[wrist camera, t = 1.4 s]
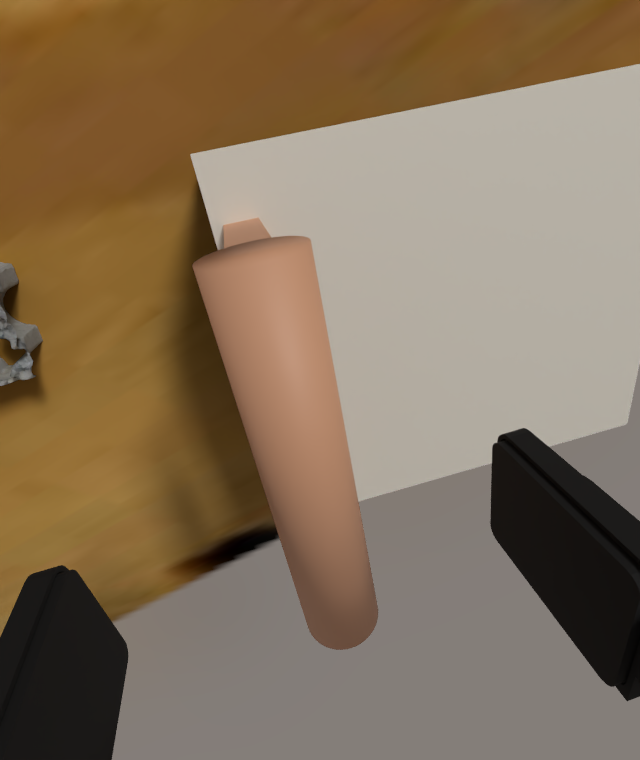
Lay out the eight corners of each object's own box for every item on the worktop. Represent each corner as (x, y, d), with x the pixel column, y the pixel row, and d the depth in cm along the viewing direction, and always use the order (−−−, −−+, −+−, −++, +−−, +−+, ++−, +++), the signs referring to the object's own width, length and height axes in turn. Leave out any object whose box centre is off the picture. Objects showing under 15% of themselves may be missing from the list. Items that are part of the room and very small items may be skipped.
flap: (687, 54, 16) (1098, -38, 8) (617, 418, 23) (799, 536, 16) (184, 155, 14) (146, 151, 7) (289, 512, 21) (325, 693, 14)
